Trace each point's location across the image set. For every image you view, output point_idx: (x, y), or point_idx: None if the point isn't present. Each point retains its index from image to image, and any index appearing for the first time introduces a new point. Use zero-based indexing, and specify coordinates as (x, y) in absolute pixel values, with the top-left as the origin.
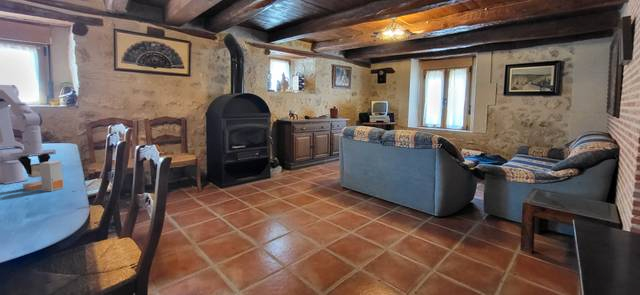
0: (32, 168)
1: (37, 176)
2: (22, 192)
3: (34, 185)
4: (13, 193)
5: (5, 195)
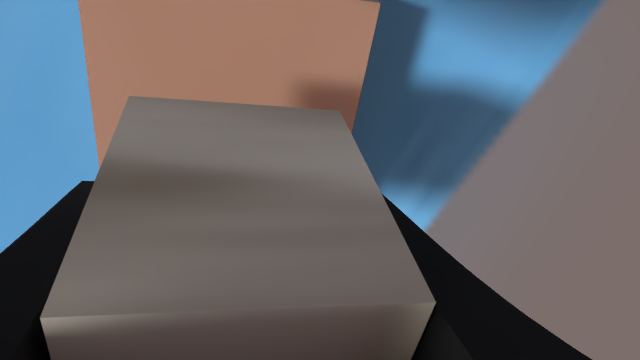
0: (386, 241)
1: (264, 110)
2: (435, 23)
3: (329, 13)
4: (485, 69)
5: (560, 56)
